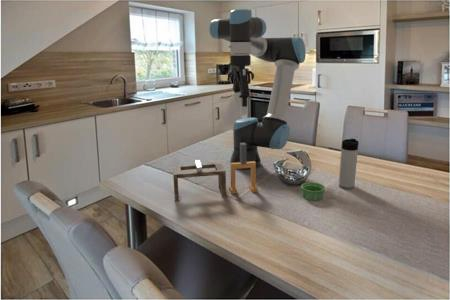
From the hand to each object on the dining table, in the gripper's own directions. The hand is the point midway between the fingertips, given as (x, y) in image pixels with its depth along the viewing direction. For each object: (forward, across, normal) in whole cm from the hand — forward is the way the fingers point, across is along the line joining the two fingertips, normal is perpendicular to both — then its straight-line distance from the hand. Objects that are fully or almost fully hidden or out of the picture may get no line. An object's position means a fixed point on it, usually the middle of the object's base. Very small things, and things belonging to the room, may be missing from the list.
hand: (240, 111), depth 135 cm
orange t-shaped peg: (+33, 0, +1) cm, 33 cm away
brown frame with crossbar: (+33, +1, -17) cm, 37 cm away
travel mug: (+33, +4, +44) cm, 55 cm away
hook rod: (+22, +1, -17) cm, 28 cm away
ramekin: (+33, +11, +26) cm, 44 cm away
